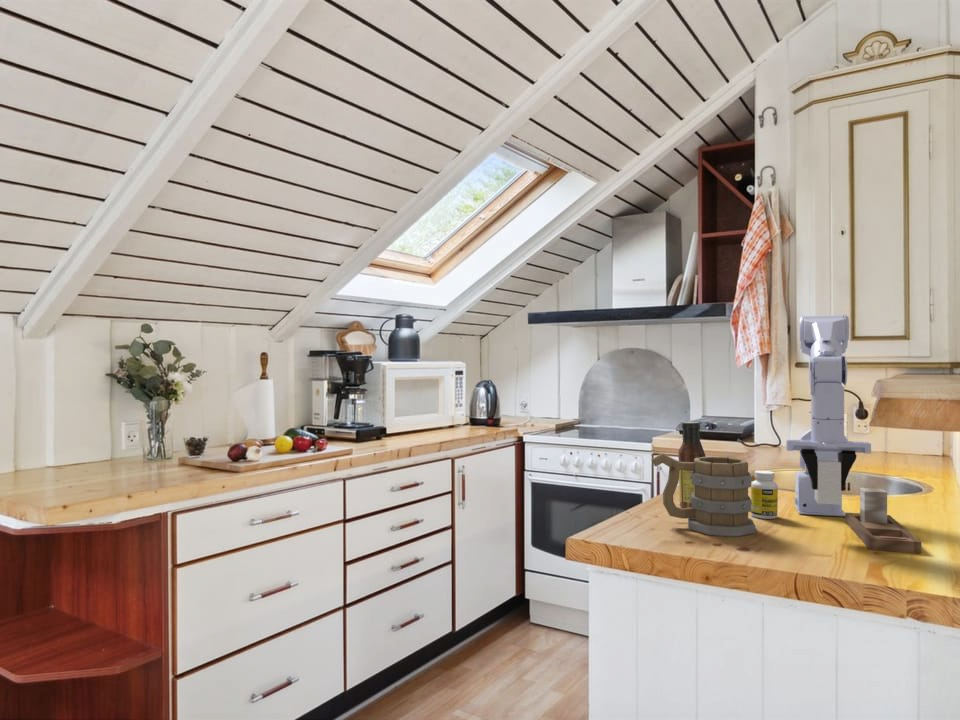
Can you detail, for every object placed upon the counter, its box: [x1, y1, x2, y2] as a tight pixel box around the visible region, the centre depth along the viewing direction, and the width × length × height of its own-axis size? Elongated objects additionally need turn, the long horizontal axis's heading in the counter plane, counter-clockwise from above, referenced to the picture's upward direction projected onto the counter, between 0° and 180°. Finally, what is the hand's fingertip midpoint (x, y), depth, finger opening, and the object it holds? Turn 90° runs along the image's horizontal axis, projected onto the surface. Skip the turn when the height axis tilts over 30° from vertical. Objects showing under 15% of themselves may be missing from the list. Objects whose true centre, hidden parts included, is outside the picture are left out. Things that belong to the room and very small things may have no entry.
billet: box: [815, 459, 841, 505], centre depth 135 cm, size 4×4×8 cm
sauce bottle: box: [678, 421, 707, 508], centre depth 161 cm, size 7×6×20 cm
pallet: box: [845, 487, 922, 554], centre depth 136 cm, size 8×22×8 cm, turn 162°
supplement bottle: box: [750, 470, 779, 520], centre depth 153 cm, size 5×5×10 cm
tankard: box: [651, 452, 756, 538], centre depth 143 cm, size 20×13×15 cm, turn 74°
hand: (827, 489), depth 135 cm, fingers closed on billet, 4 cm apart
